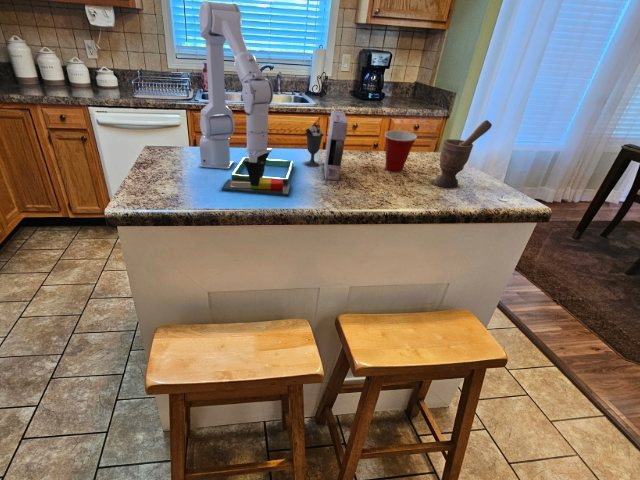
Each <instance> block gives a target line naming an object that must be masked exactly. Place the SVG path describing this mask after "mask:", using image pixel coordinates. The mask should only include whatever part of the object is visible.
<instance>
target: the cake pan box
mask: <svg viewBox="0 0 640 480" xmlns="http://www.w3.org/2000/svg"><path fill="white" fill-rule="evenodd" d="M330 112H331V113H330V119H329V126H328V132H327V140H326V147H325V155H324V162H323V163H324V177H325V178H324V179H325V180H326V181H328V180H329V181H339V180H340V174H341V168H342V160H343V156H344V155H343V154H344V147H345V141H346V140H347V132H348V125H349V123H348V120H347V116H346V113H345V111H342V110H334V109H332V110H331V111H330Z"/></svg>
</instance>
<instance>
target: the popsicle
mask: <svg viewBox="0 0 640 480" xmlns="http://www.w3.org/2000/svg"><path fill="white" fill-rule="evenodd" d="M281 178H282V177H275V178H260V182H259V185H258V186H251V189H270V190H281V189H283V180H282V179H281ZM232 183H235V184H251V183H250V182H235V181H232Z"/></svg>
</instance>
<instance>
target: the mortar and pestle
mask: <svg viewBox="0 0 640 480" xmlns="http://www.w3.org/2000/svg"><path fill="white" fill-rule="evenodd" d="M492 126H493V124H492V123H491V122H490V121H489V120H488V119H486V120H483V121H482V122H481V123H480V124H479V125H478V126H477V127H476V129H475V130H473V132H472V133H471V134H470V135H469V136H468V137H467V138H466V139H465V140H463V139H457V138H455V139H454V138H445V139H444V140H443V144H442V147H441V151H440V155H439V167H440V170H441V174H439V175H437V176H436V177H435V178H434V181H433V183H434V184H435V185H437V186H439V187H443V188H448V189H449V188H457V187H458V186H459V179H457V175H458V173H460V172H462V171H463V169H464V167H465V166H466V164H467V162H468V161H469V159H470V156H471V153H472V151H473V147H474V144H473V143H474V142H476V141H477V140H478V139H479V138H480V137H482V136H483V135H485V134H486V133H487V132H489V130H490V129H491V128H492Z"/></svg>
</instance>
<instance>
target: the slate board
mask: <svg viewBox="0 0 640 480" xmlns="http://www.w3.org/2000/svg"><path fill="white" fill-rule="evenodd" d="M232 181H235V182H250V181H240V180H232V179H227V180H226V181H225V183H224V184H223V186H222V187H221V191H222V192H229V193H230V192H231V193H242V194H254V195H267V196H277V197H278V196H279V197H289V193H290V191H291V184H289V183H288V184H283V189H281V190H270V189H251V184H235V183H232Z"/></svg>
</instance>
